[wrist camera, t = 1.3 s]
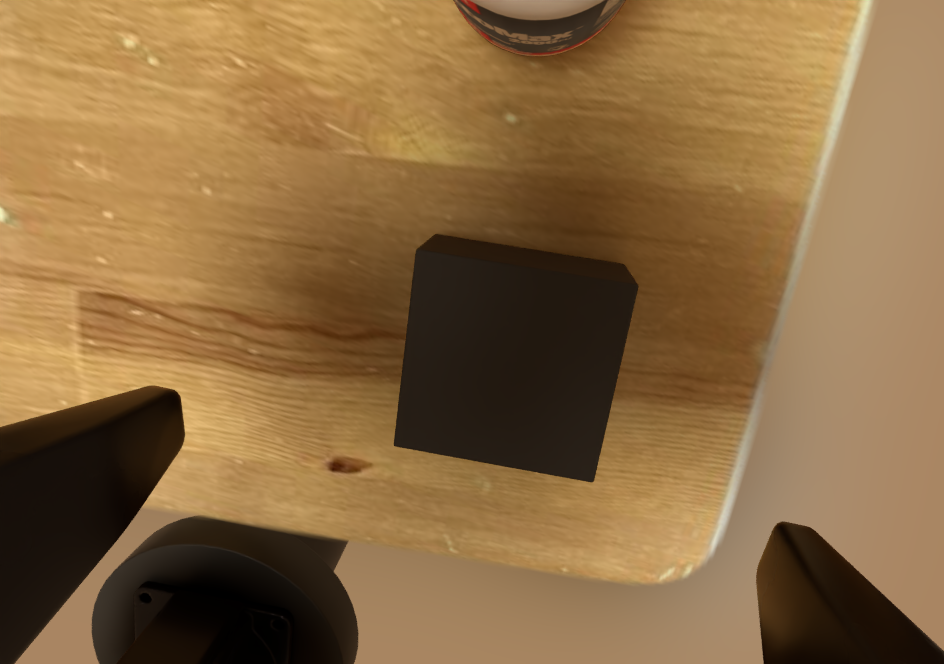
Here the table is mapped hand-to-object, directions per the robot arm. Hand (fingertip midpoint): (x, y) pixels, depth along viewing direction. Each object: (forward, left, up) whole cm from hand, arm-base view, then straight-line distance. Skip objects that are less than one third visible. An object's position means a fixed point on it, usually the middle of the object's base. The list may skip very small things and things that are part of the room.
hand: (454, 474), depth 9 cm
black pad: (-1, -1, -11) cm, 11 cm away
